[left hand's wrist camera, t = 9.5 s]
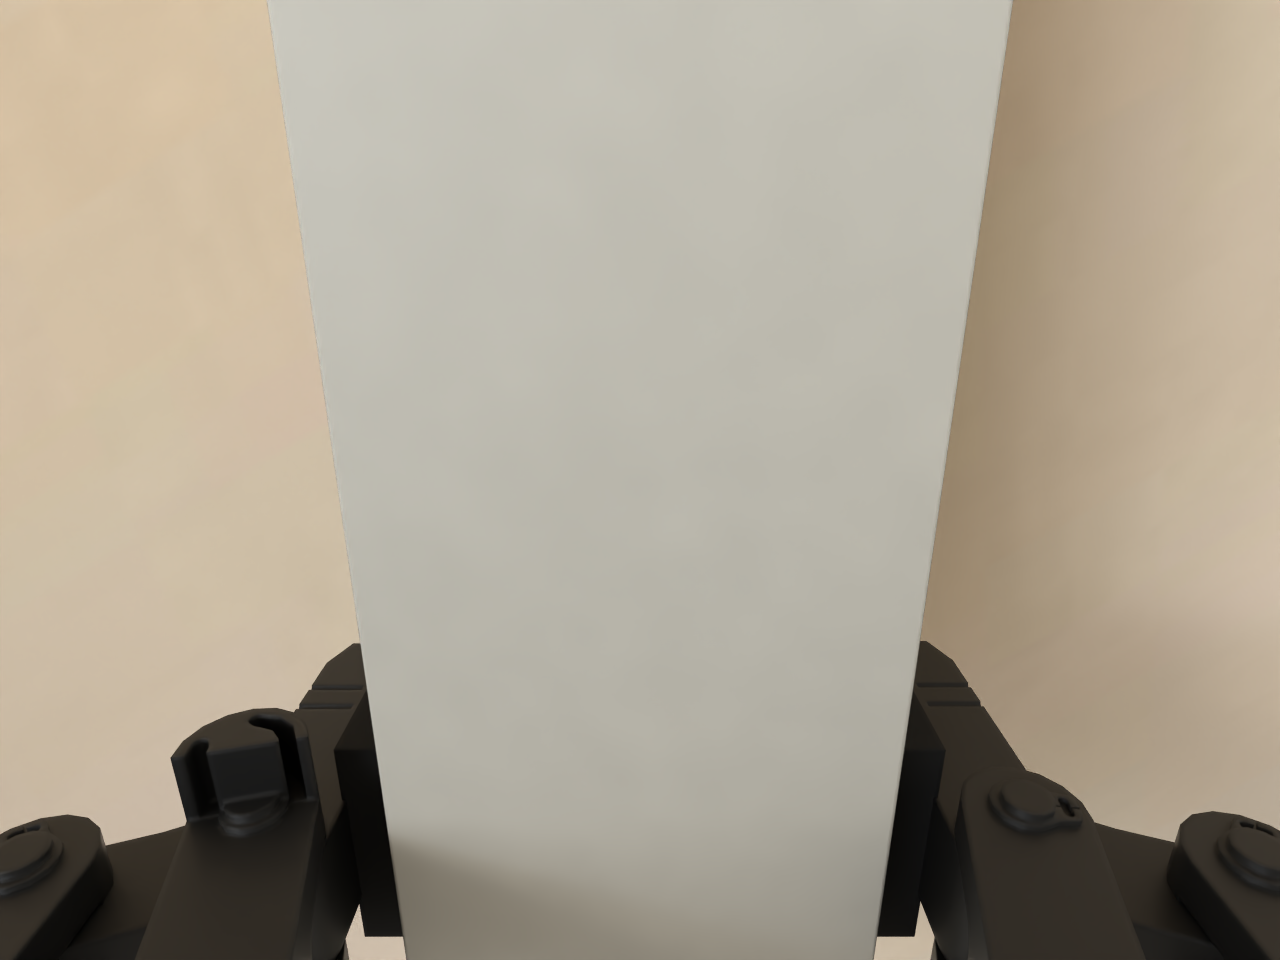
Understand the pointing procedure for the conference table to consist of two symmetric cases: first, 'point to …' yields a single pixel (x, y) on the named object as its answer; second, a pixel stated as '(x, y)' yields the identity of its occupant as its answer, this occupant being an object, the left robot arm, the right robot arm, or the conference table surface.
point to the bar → (640, 443)
